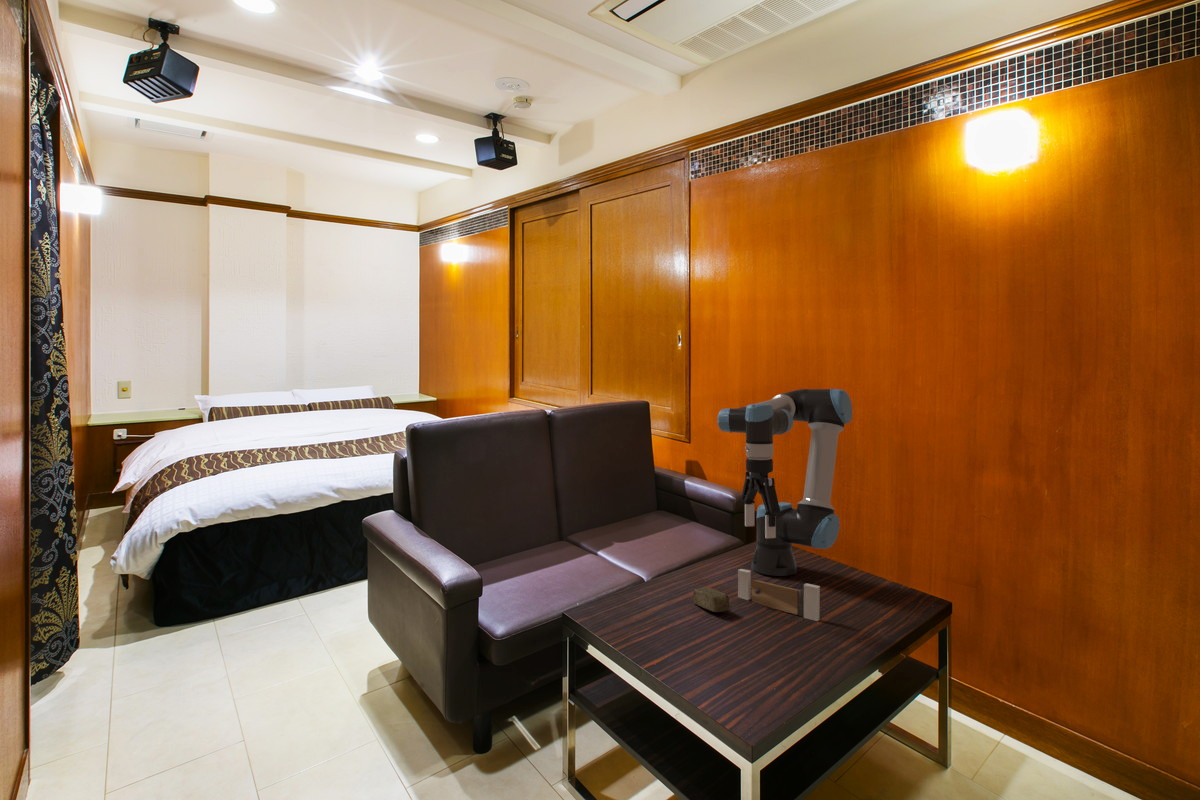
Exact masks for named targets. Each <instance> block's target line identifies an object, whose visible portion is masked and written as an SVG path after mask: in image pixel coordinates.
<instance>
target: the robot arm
mask: <svg viewBox="0 0 1200 800" xmlns="http://www.w3.org/2000/svg"><path fill="white" fill-rule="evenodd" d="M850 397H851V396H850V395H849V393H848V392H847V391H846V390H844V389H841V388H840V389H839V388H811V389H810V388H809V389H808V388H804V389H803V388H800V389H796V390H795V389H794V390H791V391H787V392H784V393H781V394H780V393H779V394H777V395H775V396H774V397H772V399H768V400H765V401H760V402H756V403H750V404H747V405H745V406H741V407H737V408H735V407H734V408H731V407H729V408H722V409H720V411H719V412H718V414H717V426H718V428H719V430H720V431H721V432H726V433H736V434H737V433H741V434H742V433H743V434H745V447H744V450H745V456H746V457H747V458H746V459H745V479H744V483H743V487H742V492H741V497H740V499H741V501H743V504H744V526H745V527H755V503H756V502H755V498H756V496H757V494H759V495H760V496H761V499H762V504H759V506H758V507H757V511H756V548H755V550H754V553H753V557H752V558H751V559H752V560H751V570H752V571H754V572H756V573H759V574H761V575H767V576H774V577H775V576H776V577H785V576H793V575H795V574H797V571H798V568H797V566H798V565H797V562H796V558H795V555H794V552H793V549H792V548H793V547H792V544H794V545H799V546H805V547H810V548H813V549H822V550H824V549H825V550H827V549H829V548H831V547H832V546H833V545H834V543H835V542H836V541H837V537H838V535H839V531H840V518H839V516H838V515H837V514H835V508H834V507H833V505H832V503H831V500H832V491H833V483H834V473H835V466H836V457H837V449H838V440H839V434H840V433H841V432H842V431H844V430H845V425H847V424H849V423H851V422H852V418H853V405H852V401H851V398H850ZM794 422H803V423H804V422H805V423H807V426H808V427H809V429H810V430H811V434H810V441H809V451H808V459H807V466H806V473H805V481H804V482H805V483H804V489H803V497H802V500H800V501H798V502H797V507H796V508H793V504H792V503H790V502H785V501H784V502H783V501H781V502H779V499H778V495H777V491H776V486H775V478H774V477H769V474H770V473H772V472H774V460H773V457H774V440H773V439H774V436H775V435H776V436H777V435H784V434H786V433H788V432H789V431H791V430H792V428H793V425H794Z"/></svg>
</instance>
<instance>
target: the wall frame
mask: <svg viewBox="0 0 1200 800" xmlns="http://www.w3.org/2000/svg"><path fill="white" fill-rule="evenodd" d="M751 574H752V570H749V569H744V568H740V569H738V570H737V597H738V598H739V599H743V600H745V601H750V600H752V579H751ZM820 590H821V586H820V585H816V584H811V583H803V619H806V620H811V621H815V622H819V621H820V604H821V603H820V597H821V596H820V595H821V594H820V593H821V592H820Z"/></svg>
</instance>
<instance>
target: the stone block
mask: <svg viewBox="0 0 1200 800" xmlns="http://www.w3.org/2000/svg"><path fill="white" fill-rule="evenodd" d="M692 601H693V603H694V604H695V605H696V606H699V607H701V608H703V609H705V610H708V611H710V612H713V613H722V612H726V611H729V610H730V598H729V595H728V594H727V593H724V592H722V591H720V590H719V591H718V590H716V589H714V588H711V587H708V586H707V587H706V586H705V587H698V588H694V589H693V597H692Z"/></svg>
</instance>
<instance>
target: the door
mask: <svg viewBox="0 0 1200 800" xmlns="http://www.w3.org/2000/svg"><path fill="white" fill-rule="evenodd" d="M751 602H752V603H755V604H759V605H761V606H765V607H768V608H770V609H774V610H777V611H780V612H781V611H782V612H785V613H789V614H793V615H796V616H797V615H798V616H799V617H804V589H797V588H792V587H788V586H785V585H784V586H783V585H779V584H775V583H771V582H766V581H762V580H759V579H754V578H753V579H751Z"/></svg>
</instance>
